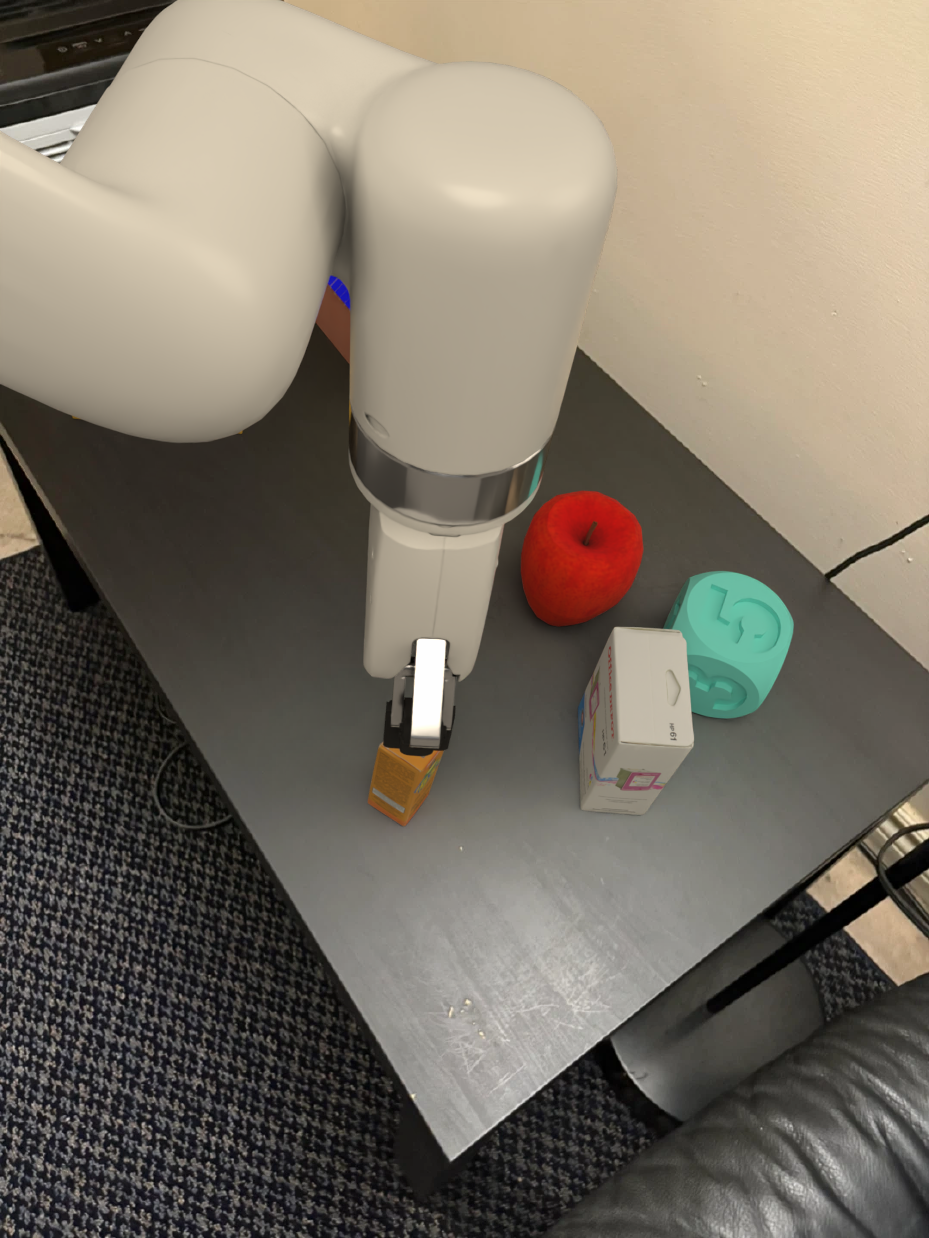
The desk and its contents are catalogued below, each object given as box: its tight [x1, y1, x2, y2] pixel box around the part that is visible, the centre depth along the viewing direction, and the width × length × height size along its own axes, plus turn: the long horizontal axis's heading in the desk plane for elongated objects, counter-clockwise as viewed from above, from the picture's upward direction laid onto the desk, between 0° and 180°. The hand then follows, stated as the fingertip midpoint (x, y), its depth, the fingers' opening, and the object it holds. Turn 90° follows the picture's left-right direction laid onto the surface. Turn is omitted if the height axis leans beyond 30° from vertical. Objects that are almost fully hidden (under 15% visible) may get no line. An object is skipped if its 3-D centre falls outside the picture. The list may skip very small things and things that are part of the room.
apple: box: [520, 490, 644, 627], centre depth 73 cm, size 9×9×11 cm
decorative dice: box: [662, 570, 795, 719], centre depth 72 cm, size 8×8×8 cm
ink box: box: [577, 626, 695, 816], centre depth 66 cm, size 9×5×12 cm, turn 178°
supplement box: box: [367, 741, 445, 827], centre depth 63 cm, size 3×3×10 cm
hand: (418, 658), depth 51 cm, fingers open, 9 cm apart
